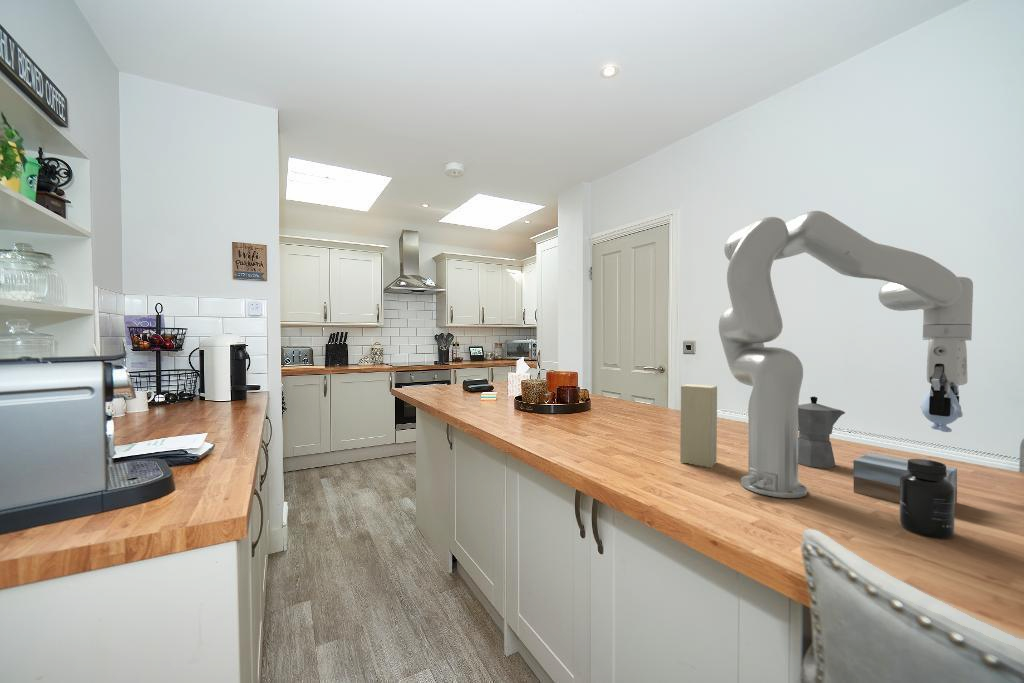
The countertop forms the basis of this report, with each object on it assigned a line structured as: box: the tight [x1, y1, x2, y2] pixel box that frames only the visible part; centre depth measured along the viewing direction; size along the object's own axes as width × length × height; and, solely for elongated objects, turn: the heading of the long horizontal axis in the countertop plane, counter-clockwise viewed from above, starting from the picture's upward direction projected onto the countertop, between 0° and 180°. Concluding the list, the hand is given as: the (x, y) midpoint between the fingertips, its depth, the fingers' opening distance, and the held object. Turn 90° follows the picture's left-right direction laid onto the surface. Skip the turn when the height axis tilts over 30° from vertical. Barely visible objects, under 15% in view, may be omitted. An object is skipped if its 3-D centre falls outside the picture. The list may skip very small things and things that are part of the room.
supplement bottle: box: [899, 458, 956, 540], centre depth 73 cm, size 7×7×12 cm
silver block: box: [853, 452, 958, 505], centre depth 88 cm, size 10×14×7 cm
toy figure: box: [920, 388, 964, 433], centre depth 93 cm, size 11×6×12 cm, turn 171°
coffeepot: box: [798, 396, 846, 469], centre depth 113 cm, size 15×9×18 cm, turn 44°
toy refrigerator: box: [679, 383, 718, 468], centre depth 114 cm, size 8×7×21 cm
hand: (944, 413), depth 93 cm, fingers closed on toy figure, 6 cm apart
